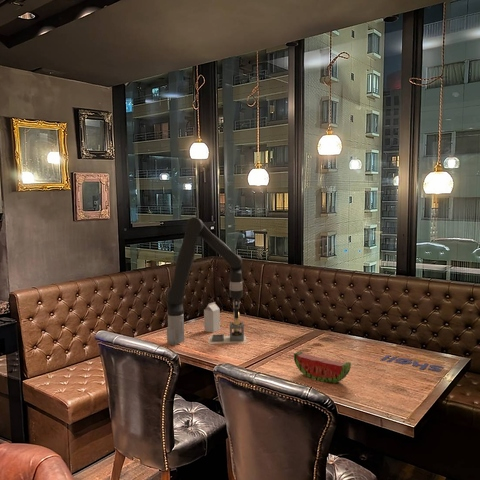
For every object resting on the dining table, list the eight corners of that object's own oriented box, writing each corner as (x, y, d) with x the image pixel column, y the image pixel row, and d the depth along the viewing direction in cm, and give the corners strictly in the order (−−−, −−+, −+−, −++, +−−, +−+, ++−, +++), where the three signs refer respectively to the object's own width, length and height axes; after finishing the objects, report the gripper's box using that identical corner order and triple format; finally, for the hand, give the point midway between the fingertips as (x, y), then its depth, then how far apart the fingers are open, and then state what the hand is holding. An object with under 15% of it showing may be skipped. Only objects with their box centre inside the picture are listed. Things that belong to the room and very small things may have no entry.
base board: (208, 346, 249) (208, 343, 248) (209, 338, 262) (209, 336, 262) (246, 345, 249) (246, 342, 249) (245, 337, 263) (245, 335, 263)
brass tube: (236, 340, 253) (236, 313, 252) (232, 339, 256) (231, 312, 254) (241, 339, 256) (241, 312, 255) (236, 337, 258) (236, 311, 257)
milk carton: (220, 331, 276) (219, 302, 274) (213, 334, 270) (212, 304, 268) (211, 330, 280) (210, 301, 278) (204, 333, 274) (203, 303, 272)
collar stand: (212, 341, 251) (211, 326, 251) (212, 337, 259) (212, 322, 259) (243, 341, 252) (243, 325, 251) (243, 336, 260) (243, 322, 259)
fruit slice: (293, 374, 206) (293, 354, 205) (300, 370, 211) (300, 350, 210) (345, 388, 190) (345, 366, 189) (351, 383, 194) (351, 361, 194)
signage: (444, 366, 212) (438, 372, 204) (444, 367, 212) (438, 374, 204) (387, 354, 230) (380, 359, 222) (387, 355, 230) (380, 361, 222)
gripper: (242, 291, 246) (243, 319, 248) (242, 286, 260) (242, 313, 262) (229, 291, 246) (230, 319, 247) (229, 286, 260) (230, 313, 262)
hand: (236, 316), depth 255 cm, fingers open, 8 cm apart
